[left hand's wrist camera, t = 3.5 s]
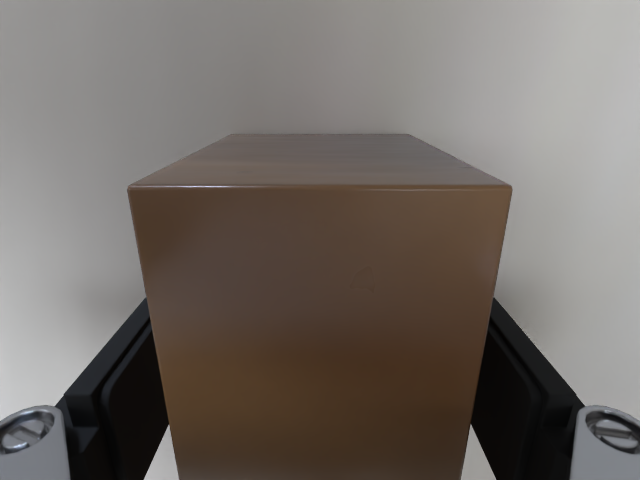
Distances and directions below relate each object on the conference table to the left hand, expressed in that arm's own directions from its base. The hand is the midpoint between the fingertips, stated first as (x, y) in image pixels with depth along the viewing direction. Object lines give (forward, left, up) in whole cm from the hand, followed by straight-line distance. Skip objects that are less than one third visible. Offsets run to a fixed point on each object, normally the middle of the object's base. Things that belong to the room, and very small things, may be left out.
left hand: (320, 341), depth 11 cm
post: (+12, -20, -2) cm, 24 cm away
